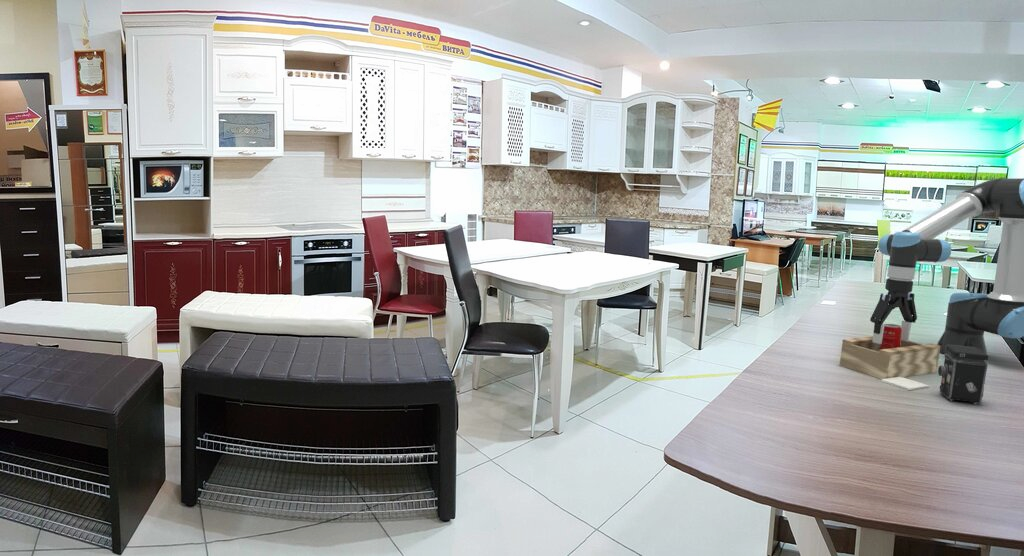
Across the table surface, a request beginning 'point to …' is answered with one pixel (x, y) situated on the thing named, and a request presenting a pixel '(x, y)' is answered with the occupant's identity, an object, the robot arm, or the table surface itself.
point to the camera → (963, 373)
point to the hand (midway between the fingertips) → (890, 341)
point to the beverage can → (891, 336)
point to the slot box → (889, 358)
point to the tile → (905, 383)
